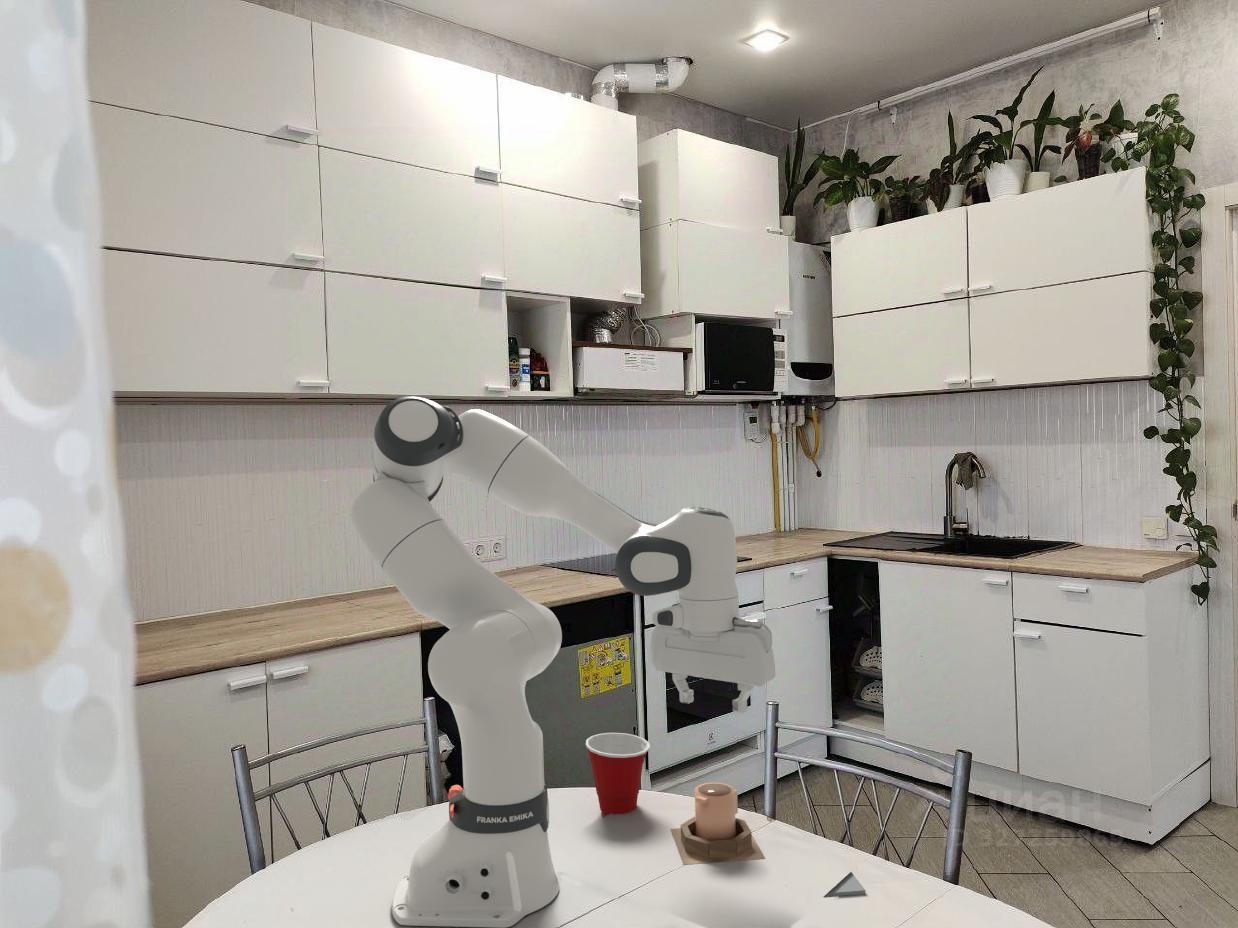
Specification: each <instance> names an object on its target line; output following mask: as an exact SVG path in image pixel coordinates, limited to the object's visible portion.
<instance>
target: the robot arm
mask: <svg viewBox="0 0 1238 928" xmlns="http://www.w3.org/2000/svg"><path fill="white" fill-rule="evenodd" d="M373 431H374V436H373V437H374V440H373V446H372V450H371V451H372V453H371V459H372V460H371V461H372V470H373V478H372V479H373V482H371V483H370V484H368V485H367V486H366V487H365V488H363V489H362V490H361V491H360V492H359V493H358V495H357V496H356V497H355V500H354V501H353V503H352V506H351V510H350V512H351V513H350V516H351V521H352V523H353V525H354V527H355V529H356V531H357V534H358V535H359V537H360V538H361V540H362V542H363V544H364V545H365V547H366V549H367V551H368V552H369V554H370V555H371V557H372V558H373V559H374V561H375V562H376V564H377V565H378V566H379V567H380V569H381V570H382V572H383V573H384V574H385V575H386V576H387V578H388V579H389V580H390V581H391V583H392V584H393V585H394V586H395V588H396V589H397V591H399V593H400V594H401V595H402V596H403V597H404V598H405V600H406V602H408V604H409V605H410V606H411V608H412V609H413V610H414V611H415V612H416V613H418V614H419V615H421V616H423V617H425V618H429V619H432V620H434V621H436V622H438V623H440V624H441V625H443V626H445V627H446V628H448V629H449V630H447V632H445V633H444V634H443V635H442V637H440V638H439V639H438V640H437V641H436V642H435V643H434V644H433V646H432V649H431V650H430V653H429V656H428V660H427V661H428V662H427V671H428V676H429V679H430V682H431V685H432V687H433V689H434V690H435V692H436V693H437V695H439V696H440V698H441V699H444V701H446V702H447V703H448V704H449V706H450V707H451V709H452V712H453V715H454V718H455V721H456V724H457V728H458V733H459V737H460V742H461V756H462V757H461V758H462V779H463V780H462V781H463V782H462V783H463V787H462V786H461V785H459V784H454V785H452V786H450V788H449V791H448V795H447V798H448V801H449V802H448V815H449V819H448V820H447V821H446V822H444V823H443V824H442V825H440V826H439V828H436V830H435V831H433V832H432V833H431V834H429V835H427V837H426V838H424V839H423V841H422V842H421V843H420V844H419V846H417V849H416V850H415V853H414V854H413V855H414V856H413V858H412V861H411V863H410V868H409V872H408V873H406V874H405V875H404V876H403V878H401V880H400V881H399V883H397V886H396V888H395V890H394V892H393V896H392V902H391V903H392V904H391V914H392V917H393V919H394V921H395V922H397V924H398V925H400V926H415V927H418V926H420V927H421V926H423V927H424V926H425V927H456V928H457V927H459V928H460V927H461V928H462V927H463V928H464V927H465V928H467V927H468V928H509V927H513V926H514V925H515V924H518V922H519V921H521V919H523V918H524V917H525V916H526V915H529V914H531V913H534V912H536V911H539V910H540V909H542V908H544V907H545V906H547V905H548V904H550V903H551V902H552V901H553V900H554V899H555V898H556V897H557V895H558V893H559V890H560V882H559V880H558V877H557V875H556V874H557V873H556V871H555V867H554V863H553V859H552V854H551V848H550V842H549V834H548V829H549V823H550V800H549V796H550V795H549V794H548V787H547V785H546V783H545V771H544V769H545V768H544V767H545V766H544V761H545V760H544V737H543V731H542V729H541V727H540V725H539V724H538V723H537V722H536V721H534V719H533V718H532V716H531V714H530V710H529V707H528V702H527V700H526V699H527V698H526V693H525V692H526V691H525V689H526V684H527V681H529V680H531V679H532V678H534V677H537V675H539V674H542V672H544V671H545V670H546V669H547V668H548V666H549V665H550V664H552V662H553V660H554V658H555V657H556V656H557V655H558V653H559V651H560V649H561V645H562V642H563V634H562V633H563V631H562V627H561V624H560V621H559V620H558V618H557V616H556V615H555V614H554V612H553V611H552V610H551V609H550V608H548V607H547V606H545V605H543V604H541V603H538V602H535V601H533V600H531V599H529V598H527V597H526V596H525V595H523V594H522V593H520V592H519V591H518V590H516V589H515V588H514V587H512V586H511V585H510V584H508V583H507V582H506V581H505V580H503V579H502V578H501V577H499V576H498V575H497V574H496V573H494V572H493V571H492V570H490V569H489V568H488V567H487V566H485V565H484V564H483V563H482V561H480V560H479V558H477V556H475V555H474V553H473V552H472V551H471V550H470V549H469V548H468V546H467V545H466V544H465V543H464V541H462V540H461V538H460V537H459V536H458V535H457V533H456V532H455V531H454V530H453V529H452V528H451V526H449V524H448V523H447V521H446V520H445V519H444V518H443V517H442V516H441V514H440V513H439V512H437V510H436V509H435V508H434V507H433V505H432V504H431V502H432V500H433V499H435V497H436V495H437V494H438V493H439V491H440V489H441V487H442V484H443V481H444V474H445V473H446V474H445V475H446V476H452V477H453V476H454V477H460V478H462V479H465V480H467V481H469V482H472V483H473V484H475V485H476V486H477V487H478V488H479V489H481V490H482V491H484V492H485V493H486V494H487V495H489V496H490V497H492V498H493V499H495V501H497V502H499V503H501V504H502V505H504V506H505V507H508V508H510V509H512V510H514V511H516V512H518V513H521V514H523V515H525V516H530V517H538V518H539V517H540V518H541V517H542V518H549V519H555V520H559V521H563V522H566V523H568V524H571V525H573V526H575V527H576V528H578V529H580V530H582V531H583V532H584V533H586V534H588V535H589V536H591V537H592V538H594V539H595V540H597V541H598V542H600V543H601V544H602V545H604V546H606V547H607V548H609V549H611V550H612V551H613V552H614V553H616V557H615V563H614V564H615V565H614V566H615V573H616V576H617V578H618V580H619V582H620V583H621V585H622V586H623V587H624V588H625V589H626V590H628V591H629V592H630V593H633V594H635V595H638V596H641V597H644V596H645V597H653V596H658V595H661V594H666V593H672V592H674V591H678V594H679V602H678V603H674V604H672V605H670V606H668V607H665V608H662V609H659V610H656V611H654V612H652V616H651V617H652V623H653V625H655V627H654V628H653V630H652V632H651V636H650V660H651V664H652V666H653V667H654V669H655V670H656V671H658V672H659V671H660V672H665V673H671V674H672V676H671V677H672V681H673V683H674V685H675V687H676V688H677V691H678V692H679V702H680V703H682V704H690V703H693V702H694V701H695V700H694V699H695V698H694V693H695V692H694V689H691V688H689V685H688V683H687V680H686V679H688V676H691V677H696V678H703V679H710V680H715V681H722V682H726V683H735V684H737V691H741V692H740V694H739V696H738V697H737V698H735V699H732V700H731V702H732V703H731V705H732V712H733V713H738V714H744V713H746V712H747V710H748V699H749V698H750V695H751V694H752V692H753V691H754V686H755V687H759V688H761V687H764V686H767V685H768V684H771V683H772V682H773V680H774V679H775V677H776V665H775V664H776V663H775V658H774V652H773V651H774V649H773V634H772V630H771V629H770V628H769V627H768V625H766V624H765V623H763V621H762V620H759V619H748V618H747V619H746V618H743V617H742V618H741V617H740V610H739V608H740V607H739V604H740V603H739V590H738V587H737V585H736V574H737V570H738V555H737V553H738V552H737V544H736V543H737V541H736V534H735V529H734V528H735V527H734V525H733V521H732V520H731V519H730V518H729V517H728V515H726V514H725V513H724V512H722V511H720V510H716V509H713V508H706V507H701V506H700V507H697V506H696V507H695V506H687V507H683V508H682V509H680V511H678V512H677V513H676V514H675V515H673V516H672V517H670V518H669V519H667V520H665V521H663V522H661V523H652V522H648V521H643V520H641V519H638V518H636V517H634V516H632V515H631V514H629V513H627V512H626V511H625V510H623V509H622V508H620V507H619V506H617V505H615V504H614V503H612V502H611V501H610V500H608V499H606V498H604V496H602V495H600V494H599V493H597V492H596V491H594V490H593V489H591V488H590V487H589V486H588V485H587V484H586V483H585V482H583V481H582V480H581V478H579V476H577V475H576V474H575V473H574V472H573V471H572V470H571V469H569V468H568V467H567V465H566V464H565V463H564V462H562V461H561V460H560V459H559V458H558V456H556V455H555V454H554V453H553V452H551V450H549V449H548V448H547V447H546V446H545V445H543V444H542V443H541V442H540V441H538V440H537V439H535V438H534V437H532V436H531V435H530V434H528V433H526V431H523V429H521V428H519V427H517V426H515V425H514V424H512V423H510V422H508V421H506V420H504V419H503V418H501V417H498V416H496V415H494V414H492V413H489V412H487V411H485V410H482V409H478V408H477V409H476V408H474V409H472V408H471V409H469V410H466V411H464V412H462V413H461V414H459V415H457V413H456V412H455V411H454V410H453V409H452V408H451V407H449V406H443V405H441V404H439V403H437V402H435V401H433V400H430V399H428V398H424V397H419V396H403V397H399V398H396V399H394V400H392V401H390V402H389V403H388V404H386V406H385V407H384V408H383V409H382V411H380V414H379V416H378V418H377V420H376V423H375V427H374V430H373Z"/></svg>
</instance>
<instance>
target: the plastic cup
mask: <svg viewBox="0 0 1238 928" xmlns="http://www.w3.org/2000/svg"><path fill="white" fill-rule="evenodd" d="M585 747H586V748H587V750H588V751H587V752H588V754H589V757H590V758H589V759H590V763H591V767H592V768H591V769H592V773H593V774H592V775H593V778H594V779H593V780H594V784H595V792H596V795H597V798H598V799H597V800H598V803H599V809H600V812H601V815H602V816H603V817H607V816H608V815H610V814H611V815H624V814H628V813H630V812H631V813H632V812H633V811H635V810H636V809H637V806H638V798H639V797H638V796H639V793H640V787H641V779H642V774H643V773H642V772H643V766H644V763H645V759H646V755H647V752H649V750H650V748H651V745H650V742H649V741H648V740H646V739H645V738H643V737H641V736H638V735H635V734H631V733H625V732H624V733H623V732H605V733H598V734H594V735H592V736H590V737H588V738H587V739H586V740H585Z"/></svg>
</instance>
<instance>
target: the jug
mask: <svg viewBox="0 0 1238 928" xmlns="http://www.w3.org/2000/svg"><path fill="white" fill-rule="evenodd" d="M738 808H739V806H738V790H737V789H735V787H734V786H731V785H729V784H727V783H723V782H705V783H700V784H699V785H696V786H695V788H694V815H695V816H694V817H695V822H696V837H699V838H702V839H705V840H709V841H717V840H730V839H734V838H735V837H736V822H735V818H736V815H737V814H738V813H739V812H738V811H739V809H738Z"/></svg>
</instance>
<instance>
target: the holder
mask: <svg viewBox="0 0 1238 928" xmlns="http://www.w3.org/2000/svg"><path fill="white" fill-rule="evenodd" d="M735 822H736V837H735V838H734V839H730V840H717V841H709V840H705V839H702V838H699V837H696V822H695V816H693V817H692V818H690V819H688V820H687V821H685V822H683V823H682V824H680V827H679V828H677V827H676V828H670V832H671V835H672V838H673V841H674V842H675V846H676V848H677V851H678V854H679V857H680V859H681V862H682V865H683V866H687V865H699V864H701V865H703V864H714V863H727V862H728V863H729V862H739V861H752V860H753V861H754V860H764V859H766V857H765V855H764V853H763V852H762V850H761V848H760V846H759V845H758V843H757V841H756V839H755V837H754V836H753V833H752V830H751V829H750V827H749V825H748V823H747V822H746V820H745V819H740V818H738V817H735Z"/></svg>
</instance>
